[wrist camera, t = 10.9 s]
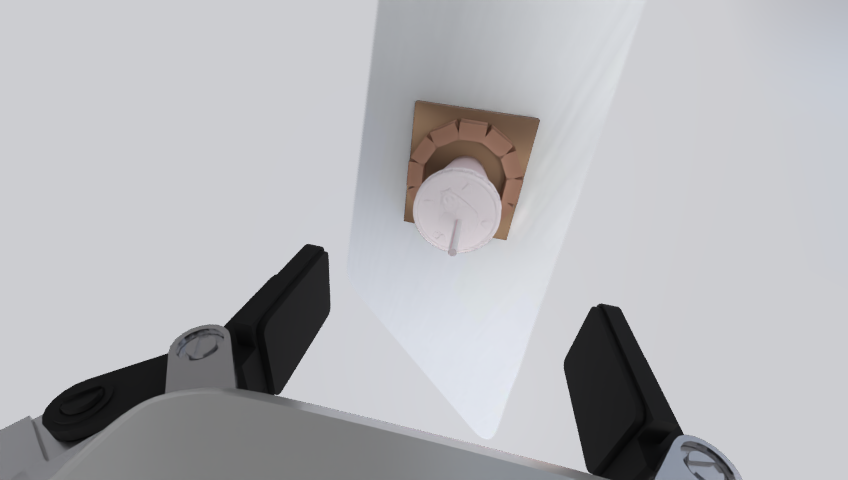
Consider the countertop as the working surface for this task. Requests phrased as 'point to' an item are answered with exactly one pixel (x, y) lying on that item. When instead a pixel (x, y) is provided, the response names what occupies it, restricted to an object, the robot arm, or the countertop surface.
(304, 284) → the robot arm
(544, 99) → the countertop surface
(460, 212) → the smoothie
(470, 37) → the countertop surface
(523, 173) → the ring board
